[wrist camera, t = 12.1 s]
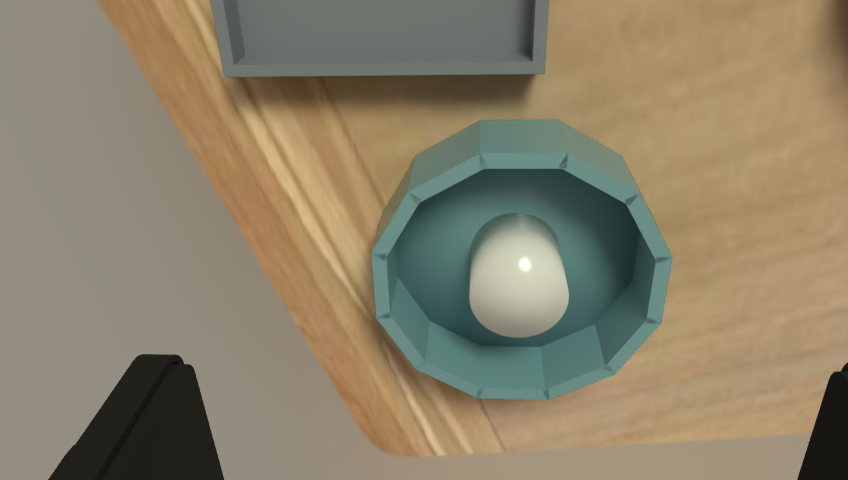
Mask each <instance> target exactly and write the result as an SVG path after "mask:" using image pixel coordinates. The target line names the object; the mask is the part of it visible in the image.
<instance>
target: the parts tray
mask: <svg viewBox="0 0 848 480" xmlns="http://www.w3.org/2000/svg"><path fill="white" fill-rule="evenodd" d="M211 4H212V9H213V15H214V21H215V26H216V32H217V38H218V44H219V49H220V55H221V61H222V66H223V72H224V77H276V76H380V75H484V74H545V58H546V40H547V23H548V5H549V0H211Z"/></svg>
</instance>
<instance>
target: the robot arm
mask: <svg viewBox="0 0 848 480" xmlns="http://www.w3.org/2000/svg"><path fill="white" fill-rule="evenodd" d="M48 480H224V477H223V473H222V470H221V466H220V462H219V459H218V455H217V451H216V448H215V444H214V440H213V437H212V434H211V430H210V426H209V422H208V418H207V415H206V411H205V407H204V404H203V400H202V396H201V393H200V389H199V386H198V382H197V378H196V374H195V371H194V368H193V367H192V366H191V365H188V364H184V362H183V360H182V358H181V357H180V356H178V355H154V354H142V355H139V356H137V357H136V358H135V360H134V361H133V362H132V363H131V365H130V366H129V368H128V369H127V371H126V372H125V374H124V375H123V376H122V378H121V380H120V381H119V382H118V384H117V385H116V387H115V388H114V390H113V391H112V392H111V394H110V395H109V397H108V398H107V400H106V401H105V402H104V404H103V405H102V407H101V409H100V410H99V411H98V413H97V414H96V416H95V417H94V418H93V420H92V421H91V423H90V424H89V426H88V427H87V429H86V430H85V432H84V433H83V434H82V436H81V437H80V439H79V440H78V442H77V443H76V444H75V445H74V446H73V447H72V448H71V449H70V450H69V451H68V453H67V454H66V455H65V456H64V458H63V459H62V461H61V462H60V464H59V465H58V467H57V468H56V469H55V471H54V472H53V474H52V475H51V476H50V478H49V479H48ZM797 480H848V363H846V364H845V365H844V367H843V369H842V371H841V372H834V373H833V374H832V375H831V377H830V379H829V381H828V385H827V388H826V391H825V394H824V397H823V400H822V403H821V407H820V410H819V413H818V416H817V419H816V422H815V426H814V429H813V432H812V435H811V438H810V441H809V444H808V448H807V451H806V454H805V457H804V460H803V463H802V467H801V470H800V473H799V476H798V479H797Z"/></svg>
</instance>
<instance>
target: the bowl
mask: <svg viewBox="0 0 848 480" xmlns="http://www.w3.org/2000/svg"><path fill="white" fill-rule="evenodd" d="M509 213H524V214H529V215H532V216H535V217H537V218H539V219H541V220H543V221H544V222H545V223H547V224H548V225H549V226H550V227H551V228H552V229H553V231H554V232H555V234H556V236H557V238H558V241H559V246H560V251H561V256H562V261H563V266H564V271H565V276H566V281H567V286H568V291H569V301H568V305H567V308H566V311H565V313H564V315H563V316H562V317H561V319H560V320H559V321H558V322H557V323H556V324H555V325H554V326H553V327H551V328H550V329H548V330H547V331H545V332H543V333H540V334H537V335H534V336H530V337H523V338H514V337H507V336H503V335H499V334H497V333H494V332H492V331H490V330H489V329H487V328H486V327H484V326H483V325H482V324H481V323H480V322H479V321H478V320H477V318H476V317H475V315H474V314H473V312H472V309H471V306H470V300H469V292H470V259H471V245H472V241H473V239H474V237H475V235H476V233H477V232H478V230H479V229H480V228H481V227H482V226H483V225H484V224H485V223H487V222H488V221H489V220H491V219H493V218H495V217H497V216H500V215H503V214H509ZM672 258H673V257H672V255H671V253H670V251H669V249H668V247H667V245H666V243H665V241H664V238H663V236H662V234H661V232H660V230H659V228H658V226H657V224H656V222H655V220H654V218H653V216H652V214H651V212H650V210H649V208H648V206H647V204H646V202H645V200H644V198H643V196H642V194H641V192H640V190H639V188H638V186H637V184H636V182H635V180H634V179H633V177H632V175H631V173H630V171H629V169H628V167H627V165H626V163H625V161H624V159H623V157H622V156H621V155H619V154H618V153H616V152H614V151H612V150H611V149H609V148H607V147H605V146H603V145H602V144H600V143H598V142H596V141H595V140H593V139H591V138H589V137H588V136H586V135H584V134H582V133H580V132H579V131H577V130H575V129H573V128H572V127H570V126H568V125H566V124H564V123H563V122H561V121H559V120H480V121H478V122H476V123H474V124H472V125H471V126H469V127H467V128H465V129H463V130H462V131H460V132H458V133H456V134H454V135H453V136H451V137H449V138H447V139H445V140H443V141H442V142H440V143H438V144H436V145H434V146H433V147H431V148H429V149H427V150H425V151H424V152H422V153H420V154H418V155H416V156H415V158H414V159H413V161H412V163H411V165H410V166H409V168H408V170H407V172H406V173H405V175H404V177H403V179H402V180H401V182H400V184H399V185H398V187H397V189H396V191H395V192H394V194H393V196H392V198H391V199H390V201H389V203H388V205H387V206H386V208H385V210H384V211H383V213H382V217H381V220H380V224H379V228H378V231H377V235H376V238H375V242H374V245H373V249H372V252H371V259H372V271H373V284H374V296H375V309H376V319H377V320H378V321H379V322H380V324H381V325H382V326H383V328H384V329H385V330H386V332H387V333H388V334H389V335H390V337H391V338H392V339H393V341H394V342H395V343H396V344H397V346H398V347H399V348H400V350H401V351H402V352H403V354H404V355H405V356H406V357H407V359H408V360H409V361H410V363H411V364H412V365H413V367H414V368H415V369H416V370H418V371H420V372H422V373H424V374H427V375H429V376H431V377H433V378H435V379H437V380H439V381H442V382H444V383H446V384H448V385H450V386H452V387H454V388H457V389H459V390H461V391H463V392H465V393H467V394H469V395H472V396H474V397H476V398H486V399H521V400H550V399H553V398H556V397H558V396H561V395H563V394H566V393H568V392H571V391H573V390H576V389H579V388H581V387H584V386H586V385H589V384H591V383H594V382H597V381H599V380H602V379H604V378H607V377H609V376H612V375H614V374H616V372H617V371H618V370H619V369H620V368H621V367H622V366H623V365H624V364H625V363H626V361H627V360H628V359H629V358H630V357H631V356H632V355H633V354H634V353H635V352H636V351H637V349H638V348H639V347H640V346H641V345H642V344H643V343H644V342H645V341H646V340H647V338H648V337H649V336H650V335H651V334H652V333H653V332H654V331H655V330H656V329H657V328H658V326H659V325H660V324H661V321H662V315H663V309H664V304H665V298H666V292H667V286H668V280H669V275H670V269H671V263H672Z"/></svg>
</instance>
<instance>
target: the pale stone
mask: <svg viewBox="0 0 848 480" xmlns="http://www.w3.org/2000/svg"><path fill="white" fill-rule="evenodd" d="M469 300H470V306H471V309H472V312H473V314H474V315H475V317H476V318H477V320H478V321H479V322H480V323H481V324H482V325H483V326H484V327H486V328H487V329H489V330H490V331H492V332H494V333H497V334H499V335H503V336H507V337H514V338H523V337H530V336H534V335H537V334H540V333H543V332H545V331H547V330H548V329H550V328H551V327H553V326H554V325H555V324H556V323H557V322H558V321H559V320H560V319H561V317H562V316H563V315H564V313H565V311H566V308H567V305H568V301H569V291H568V286H567V281H566V276H565V271H564V266H563V261H562V256H561V251H560V246H559V241H558V238H557V236H556V234H555V232H554V231H553V229H552V228H551V227H550V226H549V225H548V224H547V223H545V222H544V221H543V220H541V219H539V218H537V217H535V216H532V215H529V214H524V213H509V214H503V215H500V216H497V217H495V218H493V219H491V220H489V221H488V222H487V223H485V224H484V225H483V226H482V227H481V228H480V229H479V230H478V232H477V233H476V235H475V237H474V239H473V241H472V245H471V259H470V292H469Z"/></svg>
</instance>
